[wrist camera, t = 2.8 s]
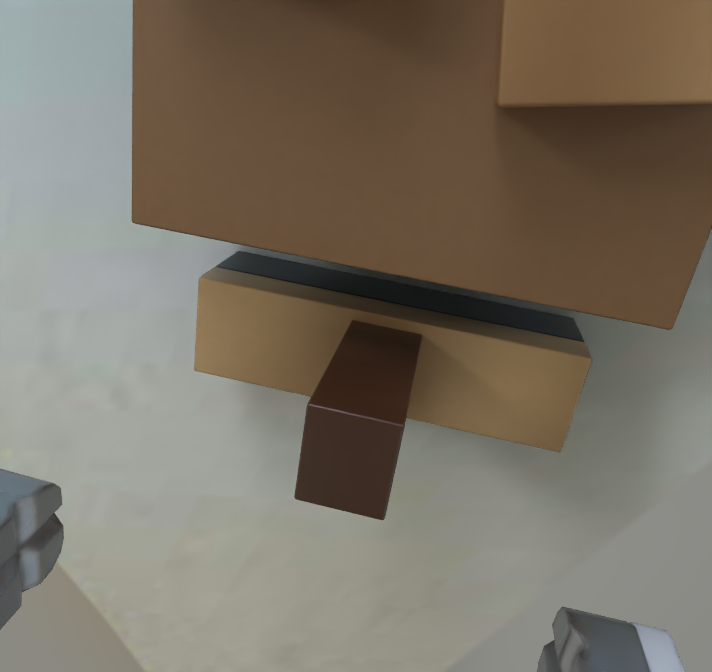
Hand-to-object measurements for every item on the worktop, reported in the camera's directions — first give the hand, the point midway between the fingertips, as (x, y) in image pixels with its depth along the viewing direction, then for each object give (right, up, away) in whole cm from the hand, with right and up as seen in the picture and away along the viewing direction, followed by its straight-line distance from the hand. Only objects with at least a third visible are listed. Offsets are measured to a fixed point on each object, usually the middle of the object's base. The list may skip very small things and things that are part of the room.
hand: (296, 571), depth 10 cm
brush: (+2, +4, +10) cm, 11 cm away
